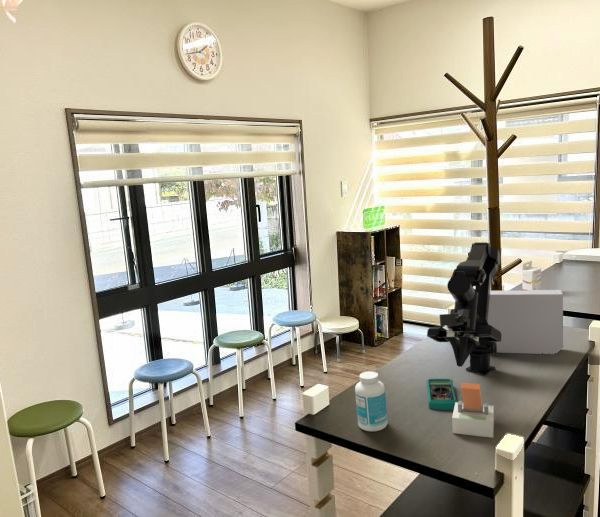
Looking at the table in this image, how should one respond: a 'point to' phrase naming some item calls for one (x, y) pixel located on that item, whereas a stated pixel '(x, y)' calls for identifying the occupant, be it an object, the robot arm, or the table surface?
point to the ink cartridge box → (531, 277)
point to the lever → (471, 397)
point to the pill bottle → (371, 402)
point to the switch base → (473, 421)
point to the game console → (527, 320)
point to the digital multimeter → (441, 394)
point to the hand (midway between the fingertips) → (459, 366)
